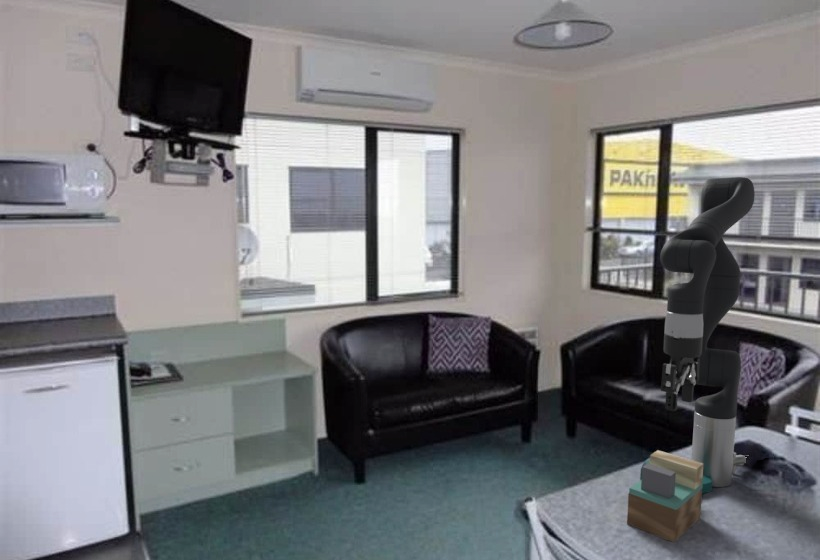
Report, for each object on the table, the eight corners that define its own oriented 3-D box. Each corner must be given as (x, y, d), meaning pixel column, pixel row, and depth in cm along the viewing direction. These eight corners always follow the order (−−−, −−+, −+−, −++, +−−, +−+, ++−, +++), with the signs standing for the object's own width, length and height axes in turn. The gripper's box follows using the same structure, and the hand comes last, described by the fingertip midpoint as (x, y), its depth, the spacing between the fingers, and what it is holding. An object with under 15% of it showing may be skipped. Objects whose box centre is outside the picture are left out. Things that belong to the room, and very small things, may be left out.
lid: (657, 477, 138) (658, 447, 137) (702, 492, 131) (704, 460, 130) (628, 497, 129) (630, 465, 128) (676, 514, 122) (678, 481, 121)
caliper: (729, 478, 152) (731, 454, 151) (725, 476, 153) (727, 453, 152) (768, 459, 164) (770, 436, 163) (764, 457, 164) (766, 435, 164)
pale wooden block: (656, 468, 138) (657, 450, 137) (702, 483, 131) (703, 463, 130) (649, 474, 135) (650, 455, 134) (695, 489, 128) (696, 469, 127)
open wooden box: (655, 501, 139) (657, 473, 138) (700, 517, 132) (702, 487, 131) (627, 523, 129) (628, 493, 129) (673, 542, 122) (675, 510, 121)
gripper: (679, 325, 136) (675, 394, 138) (651, 334, 127) (647, 409, 129) (714, 330, 131) (709, 402, 133) (688, 340, 121) (683, 418, 123)
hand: (679, 405), depth 131 cm, fingers open, 8 cm apart
